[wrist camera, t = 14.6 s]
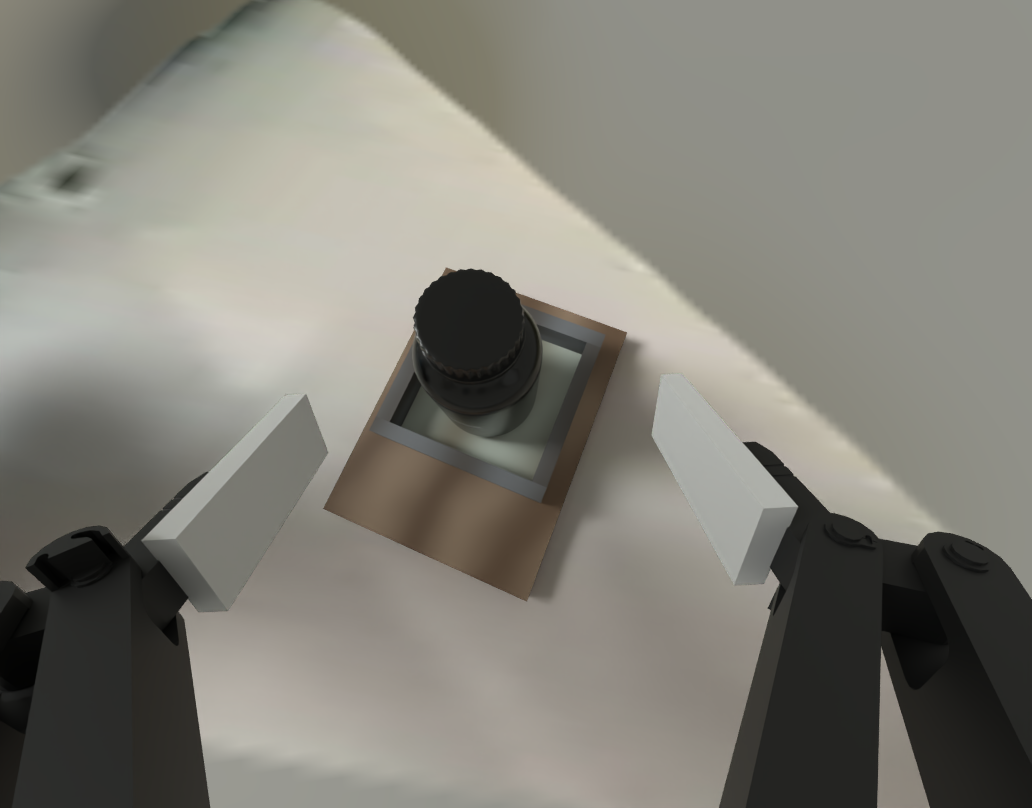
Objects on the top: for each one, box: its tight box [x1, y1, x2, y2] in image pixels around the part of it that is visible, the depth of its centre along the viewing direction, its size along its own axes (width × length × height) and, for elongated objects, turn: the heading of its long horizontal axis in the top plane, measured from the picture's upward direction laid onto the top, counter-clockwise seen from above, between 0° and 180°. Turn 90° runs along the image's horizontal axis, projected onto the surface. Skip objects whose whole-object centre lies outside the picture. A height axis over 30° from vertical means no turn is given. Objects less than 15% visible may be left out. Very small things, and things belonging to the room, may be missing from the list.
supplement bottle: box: [412, 269, 543, 437], centre depth 22 cm, size 7×7×12 cm
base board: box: [323, 268, 627, 601], centre depth 27 cm, size 15×20×4 cm
